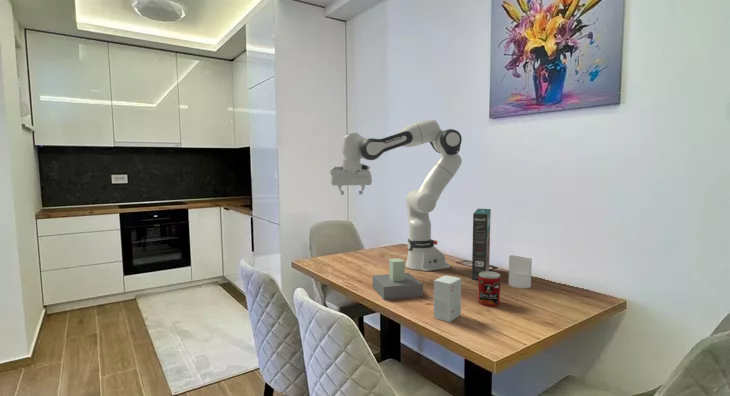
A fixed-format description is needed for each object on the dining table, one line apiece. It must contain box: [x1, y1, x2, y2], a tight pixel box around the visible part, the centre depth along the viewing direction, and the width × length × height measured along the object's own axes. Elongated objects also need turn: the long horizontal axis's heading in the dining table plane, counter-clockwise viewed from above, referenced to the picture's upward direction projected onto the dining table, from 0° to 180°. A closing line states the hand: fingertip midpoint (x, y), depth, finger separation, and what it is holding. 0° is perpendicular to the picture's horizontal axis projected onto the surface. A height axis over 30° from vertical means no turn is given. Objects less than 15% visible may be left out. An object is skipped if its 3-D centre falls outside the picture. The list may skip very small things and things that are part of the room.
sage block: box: [388, 257, 406, 282], centre depth 154 cm, size 5×5×8 cm
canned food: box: [477, 270, 501, 307], centre depth 141 cm, size 8×8×11 cm
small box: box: [433, 274, 462, 323], centre depth 128 cm, size 8×6×13 cm
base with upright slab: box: [507, 254, 533, 289], centre depth 163 cm, size 9×9×12 cm
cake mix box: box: [471, 208, 492, 281], centre depth 178 cm, size 22×6×30 cm, turn 158°
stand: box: [372, 272, 424, 301], centre depth 154 cm, size 16×16×5 cm
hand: (351, 194), depth 188 cm, fingers open, 8 cm apart
